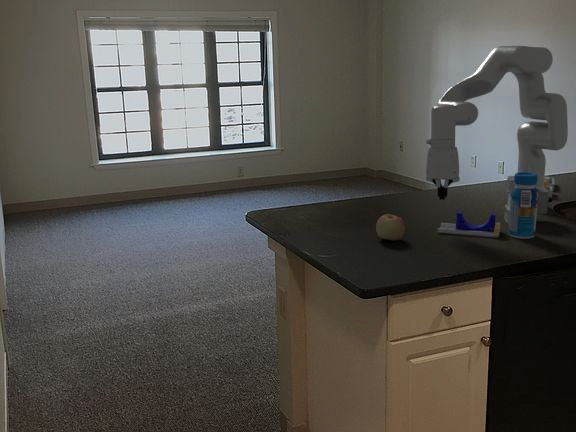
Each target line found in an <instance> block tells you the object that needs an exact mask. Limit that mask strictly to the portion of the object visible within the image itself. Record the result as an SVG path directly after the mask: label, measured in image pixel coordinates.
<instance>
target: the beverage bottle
mask: <svg viewBox="0 0 576 432" xmlns="http://www.w3.org/2000/svg"><path fill="white" fill-rule="evenodd" d="M513 176H514V184H515V185H516V186H515V187H514V189H513V190H512V192H511V198H512V199H511V200H510V216H509V223H508V230H507V231H508V232H507V234H508V236H509V237H512V238H514V239H519V240H520V239H522V240H527V239H533V238H534V237H536V227H537V226H536V225H537V216H538V215H537V214H538V213H537V208H538V201H537V198H538V192H537V190H536V188H535V187H534V186H536V184H537V174H535V173H528V172H520V173H517V172H515V173H514V175H513Z"/></svg>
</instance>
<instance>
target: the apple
mask: <svg viewBox="0 0 576 432" xmlns="http://www.w3.org/2000/svg"><path fill="white" fill-rule="evenodd" d="M375 230H376V234H377V236H378V237H379V238H380V239H383V240H387V241H388V240H389V241H394V242H395V241H397V242H398V241H399V240H400V239H402V238H403V236H404V234H405V230H406V225H405V222H404V220H403V219H402V218H401V217H400V216H398V215H396V214H390V213H387V214H386V213H385V214H383V215H381V216H379V218H378V219H377V222H376V224H375Z"/></svg>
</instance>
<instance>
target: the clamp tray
mask: <svg viewBox="0 0 576 432" xmlns="http://www.w3.org/2000/svg"><path fill="white" fill-rule="evenodd" d="M546 190H547V191H548V192H549V193H548V197H551V199H553V191H552V186H546ZM506 195H507V197H508V195H509V193H508V192H507V194H506Z"/></svg>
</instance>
